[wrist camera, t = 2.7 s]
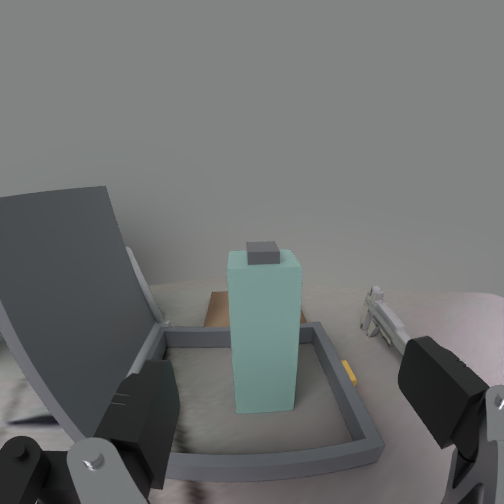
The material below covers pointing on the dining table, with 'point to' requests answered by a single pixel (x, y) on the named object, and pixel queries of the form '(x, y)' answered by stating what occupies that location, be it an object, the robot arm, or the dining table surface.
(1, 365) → the dining table surface
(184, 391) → the dining table surface
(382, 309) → the caliper
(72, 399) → the equipment case
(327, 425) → the dining table surface
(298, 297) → the block
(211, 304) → the walnut board
